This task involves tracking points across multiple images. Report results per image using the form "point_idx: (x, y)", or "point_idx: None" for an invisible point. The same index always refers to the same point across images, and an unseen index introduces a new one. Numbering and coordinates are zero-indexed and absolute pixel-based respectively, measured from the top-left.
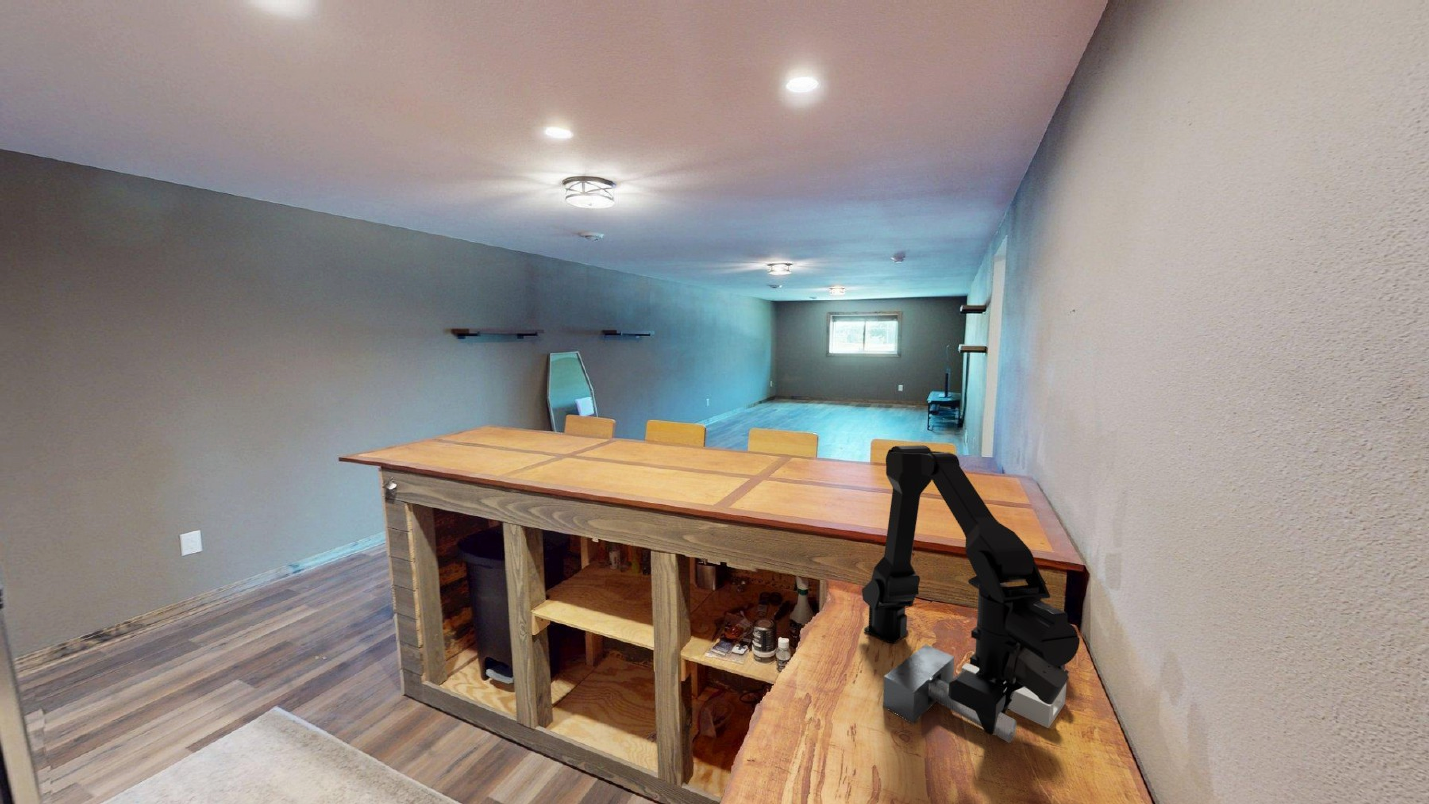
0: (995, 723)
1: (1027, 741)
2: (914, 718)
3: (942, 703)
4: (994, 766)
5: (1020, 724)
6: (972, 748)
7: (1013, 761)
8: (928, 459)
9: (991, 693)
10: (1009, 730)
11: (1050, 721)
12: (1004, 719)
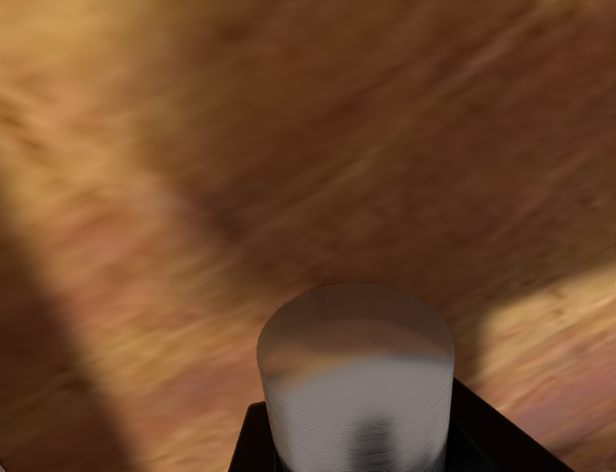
0: (505, 439)
1: (187, 235)
2: None
3: None
4: (597, 219)
5: (49, 345)
6: (525, 338)
7: (480, 184)
8: None
9: None
10: (451, 357)
11: None
12: (417, 449)
